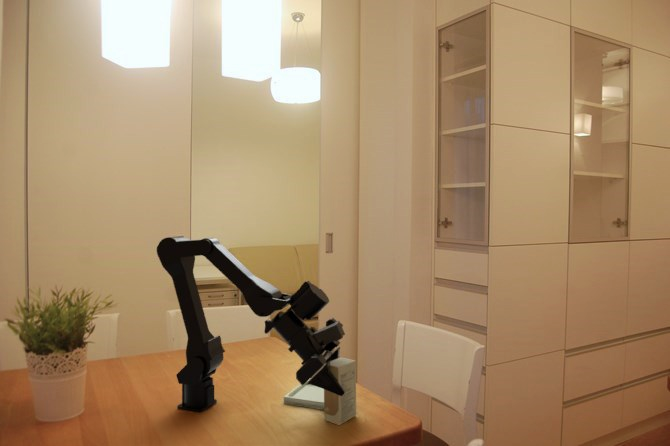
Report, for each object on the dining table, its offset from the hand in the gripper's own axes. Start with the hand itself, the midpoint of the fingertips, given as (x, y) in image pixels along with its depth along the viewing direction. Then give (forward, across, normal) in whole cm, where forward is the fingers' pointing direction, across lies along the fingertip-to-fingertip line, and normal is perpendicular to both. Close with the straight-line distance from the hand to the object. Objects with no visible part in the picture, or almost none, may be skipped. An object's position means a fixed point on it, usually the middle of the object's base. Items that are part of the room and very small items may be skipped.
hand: (346, 388), depth 99 cm
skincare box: (+4, 0, +6) cm, 7 cm away
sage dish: (-2, +10, +11) cm, 15 cm away
